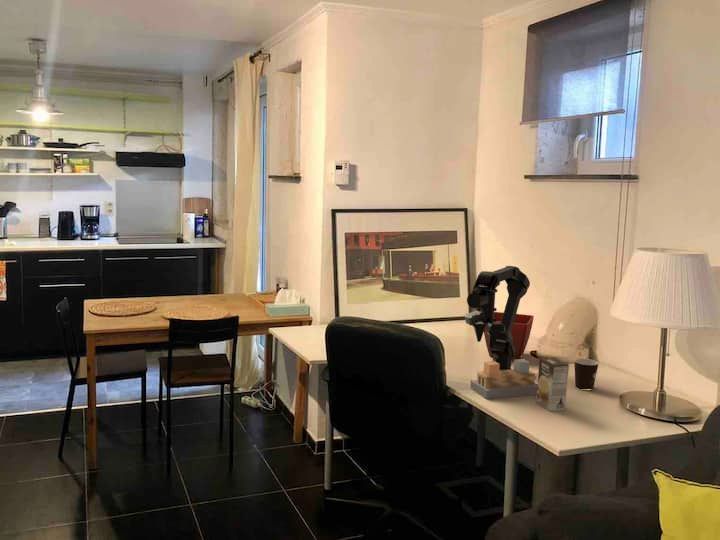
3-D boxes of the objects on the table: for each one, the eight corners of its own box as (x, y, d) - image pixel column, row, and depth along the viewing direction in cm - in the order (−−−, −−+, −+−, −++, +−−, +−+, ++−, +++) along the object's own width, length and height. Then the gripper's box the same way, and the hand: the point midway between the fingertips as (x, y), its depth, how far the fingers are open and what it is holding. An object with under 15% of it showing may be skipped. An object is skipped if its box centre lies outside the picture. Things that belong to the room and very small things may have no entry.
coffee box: (535, 402, 237) (538, 357, 235) (551, 401, 239) (554, 356, 236) (549, 411, 228) (552, 365, 226) (566, 410, 230) (569, 364, 228)
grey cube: (523, 369, 252) (523, 359, 251) (528, 372, 248) (529, 362, 247) (513, 370, 250) (514, 359, 250) (519, 373, 247) (519, 362, 246)
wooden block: (525, 378, 254) (525, 368, 253) (534, 384, 248) (535, 373, 247) (476, 382, 248) (477, 371, 247) (485, 388, 242) (486, 377, 241)
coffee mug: (584, 392, 249) (586, 366, 248) (567, 385, 257) (569, 359, 255) (607, 388, 255) (609, 362, 253) (589, 382, 262) (592, 356, 261)
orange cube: (493, 371, 248) (494, 361, 247) (498, 375, 244) (499, 364, 243) (483, 372, 247) (484, 361, 246) (489, 375, 243) (489, 364, 242)
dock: (522, 384, 257) (523, 376, 257) (540, 394, 246) (541, 386, 246) (470, 388, 250) (470, 380, 250) (486, 399, 239) (486, 390, 239)
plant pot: (479, 357, 292) (481, 319, 290) (488, 347, 310) (490, 310, 307) (524, 363, 285) (527, 324, 283) (531, 352, 303) (534, 315, 300)
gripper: (456, 300, 266) (454, 339, 268) (479, 310, 249) (477, 352, 251) (482, 299, 270) (480, 338, 272) (506, 309, 252) (504, 350, 254)
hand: (484, 344), depth 262 cm, fingers open, 9 cm apart
